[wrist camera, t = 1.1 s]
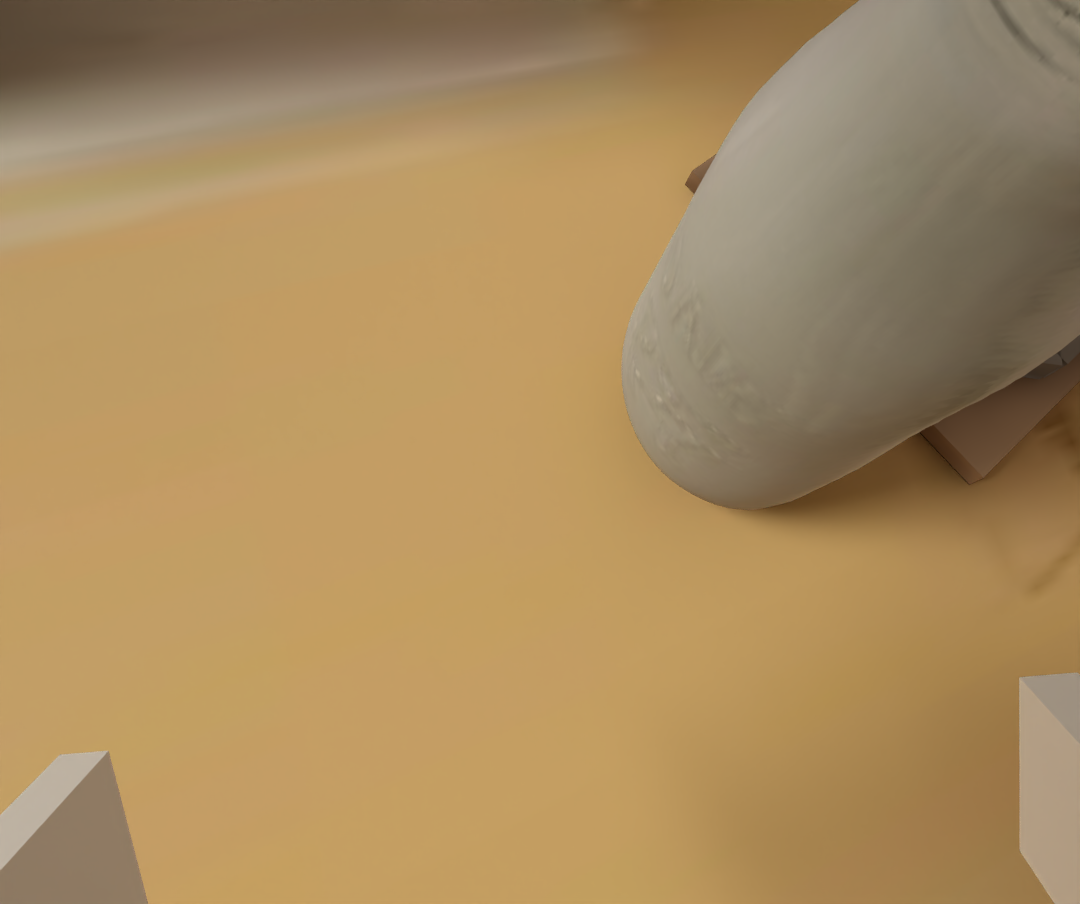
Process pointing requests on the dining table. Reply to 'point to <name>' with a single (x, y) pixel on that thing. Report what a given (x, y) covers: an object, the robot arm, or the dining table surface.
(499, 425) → the dining table surface
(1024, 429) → the socket board
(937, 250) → the glass bottle
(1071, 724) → the robot arm
